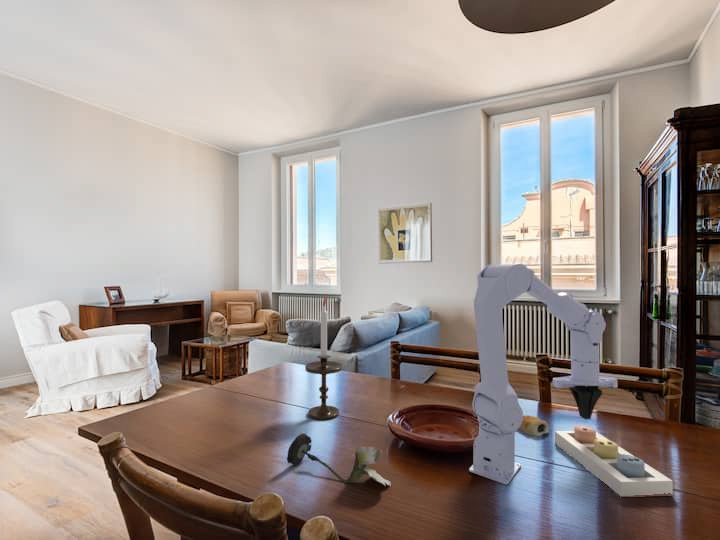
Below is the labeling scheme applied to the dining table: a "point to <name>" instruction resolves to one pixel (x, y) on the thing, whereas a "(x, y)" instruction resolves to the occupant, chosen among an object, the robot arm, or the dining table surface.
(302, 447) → the artificial flower
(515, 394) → the robot arm
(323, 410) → the candlestick
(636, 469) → the slate button
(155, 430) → the dining table surface
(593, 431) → the terracotta button
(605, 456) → the mustard button
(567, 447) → the button panel
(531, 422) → the pastry
